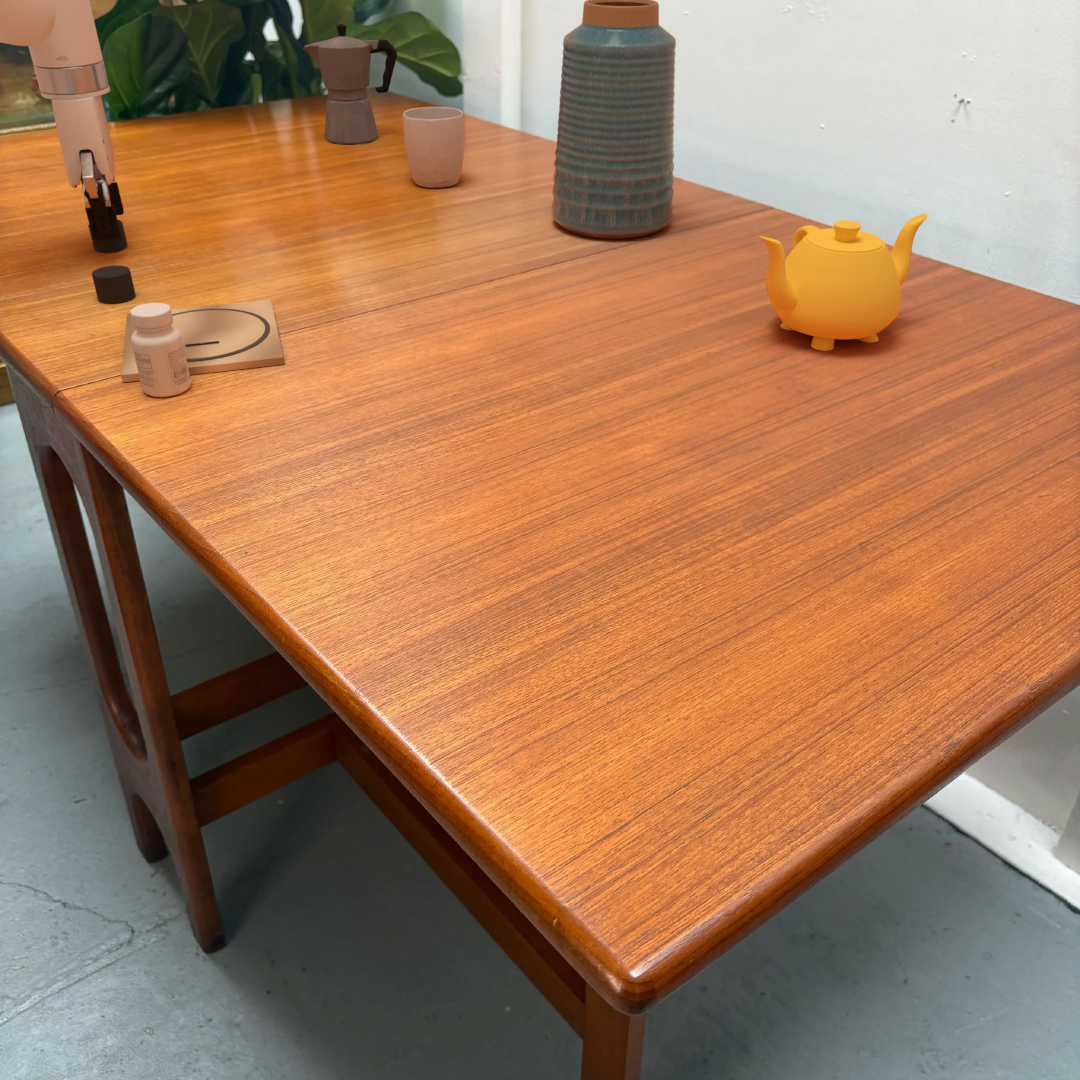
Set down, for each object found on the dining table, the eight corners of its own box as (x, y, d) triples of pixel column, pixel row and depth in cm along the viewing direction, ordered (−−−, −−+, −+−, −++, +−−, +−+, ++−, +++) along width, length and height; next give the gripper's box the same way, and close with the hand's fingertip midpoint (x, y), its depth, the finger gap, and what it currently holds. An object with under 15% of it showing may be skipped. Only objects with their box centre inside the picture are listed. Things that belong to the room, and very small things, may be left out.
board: (122, 382, 96) (120, 372, 95) (128, 320, 109) (126, 310, 108) (284, 364, 100) (283, 354, 99) (272, 306, 112) (270, 296, 112)
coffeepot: (310, 145, 173) (297, 28, 163) (316, 132, 181) (303, 20, 171) (401, 144, 174) (394, 27, 164) (403, 131, 182) (395, 19, 172)
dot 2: (97, 305, 112) (90, 279, 111) (99, 292, 115) (92, 267, 114) (135, 301, 113) (129, 275, 111) (136, 289, 116) (130, 263, 115)
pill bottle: (191, 375, 97) (175, 297, 93) (192, 395, 94) (176, 315, 90) (142, 381, 96) (124, 302, 92) (142, 401, 93) (123, 320, 88)
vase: (545, 239, 132) (547, 8, 117) (557, 203, 146) (560, -8, 131) (671, 244, 131) (689, 11, 116) (672, 208, 144) (688, -5, 129)
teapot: (857, 293, 117) (877, 191, 110) (946, 341, 105) (973, 230, 99) (705, 317, 110) (716, 210, 104) (782, 371, 99) (800, 255, 92)
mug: (475, 186, 153) (473, 115, 147) (419, 193, 149) (414, 121, 144) (443, 167, 162) (440, 99, 156) (390, 173, 159) (385, 104, 153)
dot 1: (93, 253, 126) (87, 229, 125) (94, 243, 130) (89, 220, 128) (126, 250, 127) (121, 227, 126) (128, 241, 131) (122, 217, 129)
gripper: (45, 67, 124) (82, 209, 133) (29, 97, 110) (72, 252, 120) (110, 64, 125) (142, 204, 135) (103, 92, 112) (139, 246, 122)
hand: (109, 226), depth 127 cm, fingers open, 9 cm apart
